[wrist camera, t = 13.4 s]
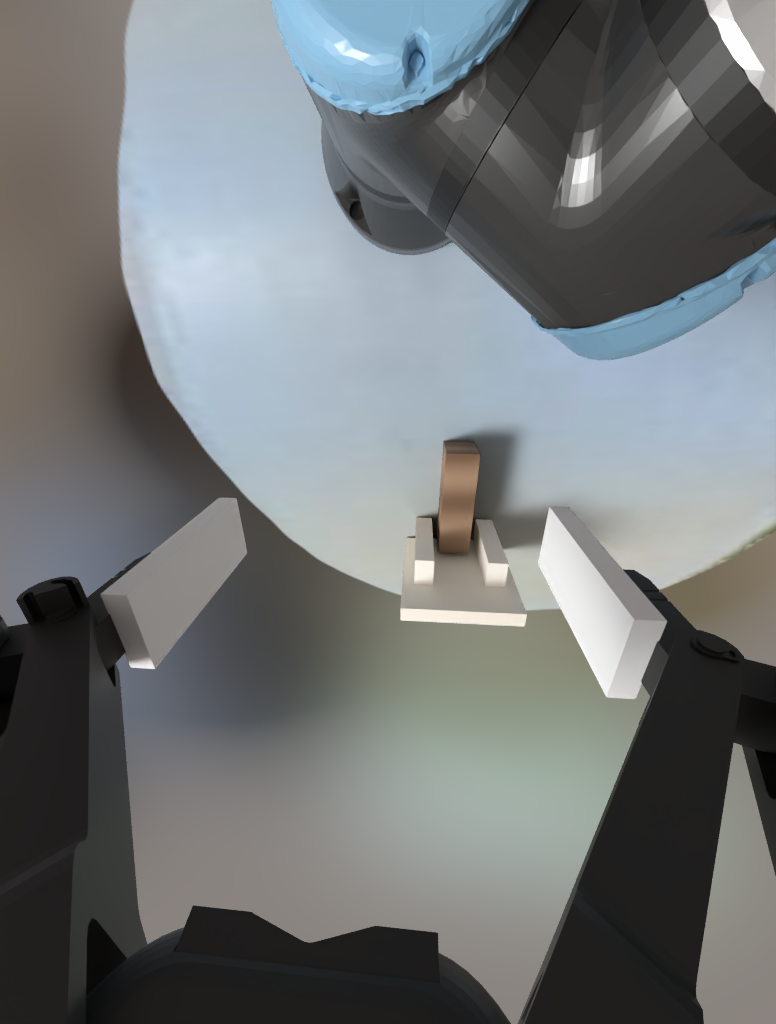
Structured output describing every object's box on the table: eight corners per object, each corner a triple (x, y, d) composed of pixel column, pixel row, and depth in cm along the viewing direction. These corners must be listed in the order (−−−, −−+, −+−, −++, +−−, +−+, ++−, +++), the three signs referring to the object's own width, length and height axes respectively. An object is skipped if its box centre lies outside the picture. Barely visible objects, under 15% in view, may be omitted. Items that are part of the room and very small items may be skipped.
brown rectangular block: (464, 533, 48) (468, 553, 44) (436, 531, 48) (438, 552, 44) (474, 441, 43) (480, 454, 38) (443, 441, 43) (446, 453, 39)
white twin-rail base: (406, 517, 47) (400, 583, 35) (501, 520, 47) (532, 588, 34) (405, 547, 49) (400, 620, 37) (497, 550, 49) (524, 626, 36)
